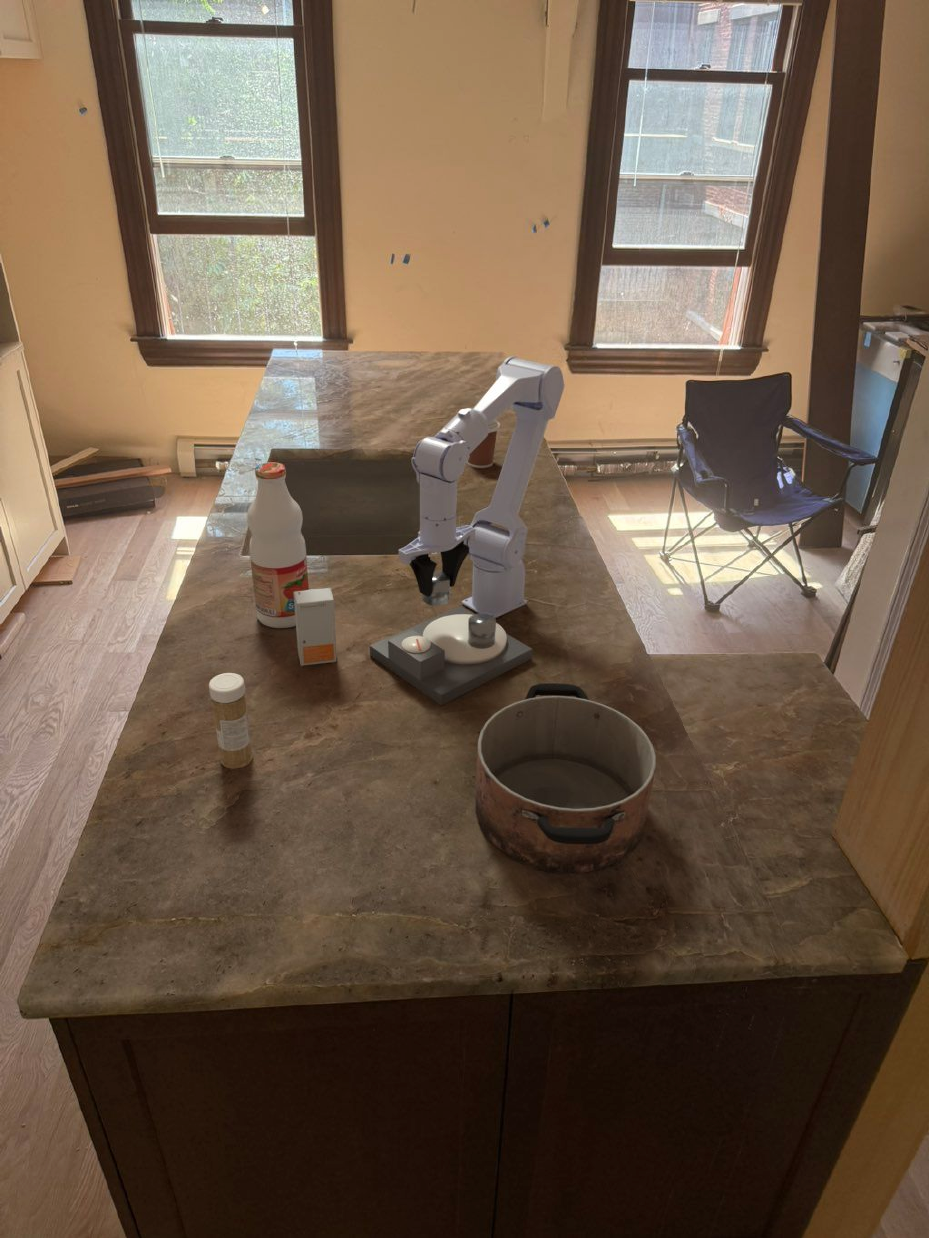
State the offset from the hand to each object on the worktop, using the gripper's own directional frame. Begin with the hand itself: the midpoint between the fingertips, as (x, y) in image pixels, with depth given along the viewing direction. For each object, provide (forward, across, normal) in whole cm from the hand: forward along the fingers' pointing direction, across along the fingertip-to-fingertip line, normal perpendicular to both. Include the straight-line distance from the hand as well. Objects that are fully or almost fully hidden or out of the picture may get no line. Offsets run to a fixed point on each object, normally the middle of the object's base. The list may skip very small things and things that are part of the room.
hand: (437, 589), depth 144 cm
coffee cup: (+11, -62, -56) cm, 85 cm away
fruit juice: (+11, +15, -24) cm, 30 cm away
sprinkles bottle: (+10, +41, +5) cm, 43 cm away
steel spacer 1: (+2, 0, 0) cm, 2 cm away
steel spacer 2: (+7, -3, +8) cm, 11 cm away
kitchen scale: (+10, +1, +5) cm, 12 cm away
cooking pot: (+11, +14, +42) cm, 45 cm away
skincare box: (+11, +18, -9) cm, 23 cm away
